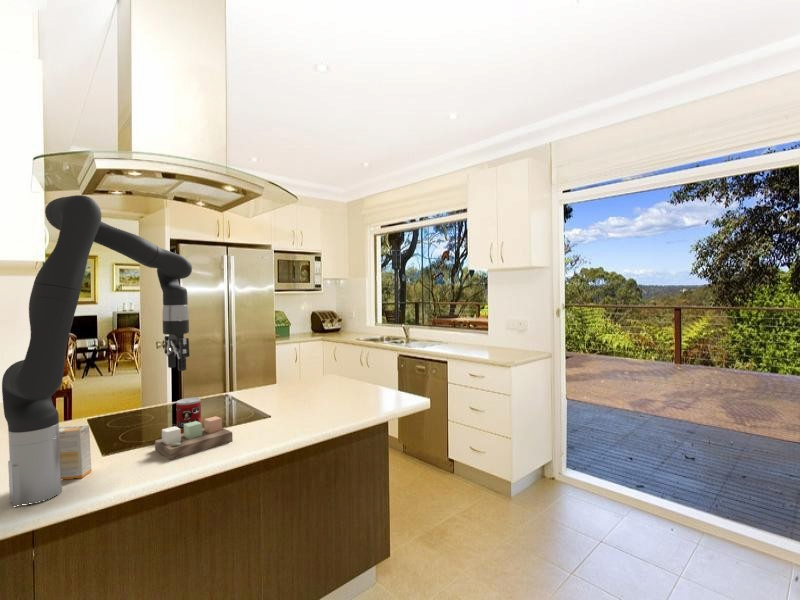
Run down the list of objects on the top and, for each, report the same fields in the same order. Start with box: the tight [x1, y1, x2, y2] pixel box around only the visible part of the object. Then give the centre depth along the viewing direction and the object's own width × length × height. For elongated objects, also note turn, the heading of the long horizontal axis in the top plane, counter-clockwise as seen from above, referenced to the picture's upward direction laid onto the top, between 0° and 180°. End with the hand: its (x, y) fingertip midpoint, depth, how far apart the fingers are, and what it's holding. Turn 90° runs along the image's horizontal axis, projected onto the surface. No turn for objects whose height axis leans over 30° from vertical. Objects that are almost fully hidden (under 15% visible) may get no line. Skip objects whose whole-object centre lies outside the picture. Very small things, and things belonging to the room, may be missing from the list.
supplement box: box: [59, 424, 93, 480], centre depth 112 cm, size 8×5×13 cm, turn 99°
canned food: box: [175, 397, 202, 434], centre depth 148 cm, size 8×8×11 cm
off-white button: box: [161, 425, 181, 445], centre depth 129 cm, size 4×4×4 cm
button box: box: [154, 427, 233, 460], centre depth 133 cm, size 19×12×4 cm, turn 139°
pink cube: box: [203, 415, 223, 433], centre depth 139 cm, size 4×4×4 cm
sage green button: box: [184, 421, 203, 439], centre depth 134 cm, size 4×4×4 cm
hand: (177, 369), depth 135 cm, fingers open, 8 cm apart
